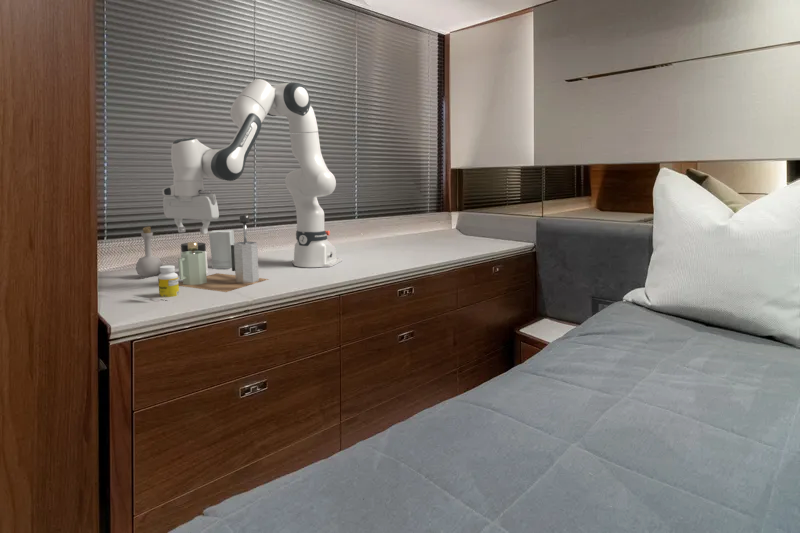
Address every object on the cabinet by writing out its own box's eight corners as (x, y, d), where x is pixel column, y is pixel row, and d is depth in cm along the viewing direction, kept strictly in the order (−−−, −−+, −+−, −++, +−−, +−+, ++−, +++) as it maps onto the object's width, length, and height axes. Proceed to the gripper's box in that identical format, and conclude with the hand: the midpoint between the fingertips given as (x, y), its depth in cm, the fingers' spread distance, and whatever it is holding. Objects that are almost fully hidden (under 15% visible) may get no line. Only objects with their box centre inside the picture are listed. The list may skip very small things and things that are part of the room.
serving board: (217, 276, 179) (217, 273, 179) (269, 282, 171) (269, 279, 170) (170, 288, 160) (170, 284, 160) (226, 295, 151) (226, 291, 151)
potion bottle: (169, 275, 180) (165, 226, 177) (151, 280, 172) (147, 228, 168) (149, 273, 182) (145, 225, 179) (130, 278, 174) (126, 227, 171)
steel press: (240, 277, 172) (238, 240, 170) (262, 280, 168) (261, 242, 166) (225, 281, 166) (223, 243, 163) (248, 284, 162) (246, 245, 160)
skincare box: (237, 266, 199) (235, 229, 196) (232, 269, 193) (230, 231, 190) (216, 266, 198) (214, 229, 196) (210, 269, 192) (208, 231, 190)
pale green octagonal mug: (195, 279, 168) (193, 250, 167) (211, 281, 166) (209, 251, 164) (172, 284, 160) (170, 254, 158) (189, 287, 157) (187, 256, 155)
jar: (211, 274, 183) (209, 242, 180) (204, 279, 175) (202, 245, 172) (186, 274, 182) (183, 242, 179) (178, 279, 174) (176, 245, 171)
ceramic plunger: (194, 270, 166) (192, 241, 164) (205, 272, 164) (203, 242, 163) (183, 273, 162) (181, 242, 160) (194, 274, 160) (192, 243, 158)
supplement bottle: (156, 298, 147) (153, 266, 145) (173, 295, 151) (171, 264, 149) (165, 302, 143) (162, 268, 142) (183, 298, 148) (180, 266, 146)
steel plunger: (244, 247, 168) (243, 214, 166) (256, 248, 166) (254, 215, 164) (235, 249, 163) (233, 215, 161) (246, 250, 161) (245, 216, 159)
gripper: (221, 190, 157) (225, 233, 160) (173, 189, 165) (177, 230, 168) (207, 191, 151) (210, 235, 154) (157, 189, 159) (162, 232, 162)
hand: (193, 232), depth 161 cm, fingers open, 8 cm apart
